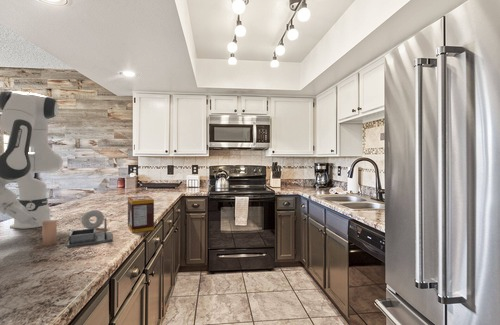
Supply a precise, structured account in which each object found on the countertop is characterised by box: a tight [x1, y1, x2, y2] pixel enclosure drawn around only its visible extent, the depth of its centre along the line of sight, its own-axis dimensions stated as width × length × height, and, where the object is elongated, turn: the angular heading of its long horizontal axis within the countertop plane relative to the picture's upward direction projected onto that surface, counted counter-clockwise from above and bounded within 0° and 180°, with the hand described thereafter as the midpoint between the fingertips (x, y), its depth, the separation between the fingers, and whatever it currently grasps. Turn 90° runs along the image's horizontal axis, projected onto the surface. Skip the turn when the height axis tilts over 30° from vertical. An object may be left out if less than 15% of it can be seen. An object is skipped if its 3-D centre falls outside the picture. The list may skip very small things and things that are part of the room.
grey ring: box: [81, 209, 105, 229], centre depth 132 cm, size 10×4×10 cm, turn 130°
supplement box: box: [127, 195, 155, 234], centre depth 135 cm, size 10×15×16 cm
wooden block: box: [41, 219, 58, 247], centre depth 109 cm, size 5×5×10 cm
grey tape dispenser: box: [67, 217, 113, 248], centre depth 115 cm, size 13×16×8 cm
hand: (36, 223), depth 106 cm, fingers open, 8 cm apart
